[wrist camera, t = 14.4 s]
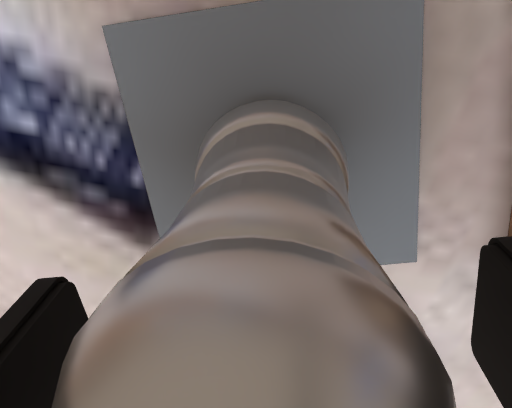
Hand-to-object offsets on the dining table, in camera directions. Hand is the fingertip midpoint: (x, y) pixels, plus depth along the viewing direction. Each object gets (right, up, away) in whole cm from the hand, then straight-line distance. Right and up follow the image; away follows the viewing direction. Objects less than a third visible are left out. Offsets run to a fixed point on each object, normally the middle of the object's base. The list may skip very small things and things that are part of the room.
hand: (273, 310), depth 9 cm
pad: (+1, +5, +11) cm, 12 cm away
